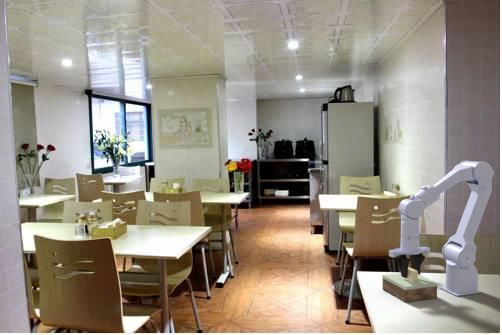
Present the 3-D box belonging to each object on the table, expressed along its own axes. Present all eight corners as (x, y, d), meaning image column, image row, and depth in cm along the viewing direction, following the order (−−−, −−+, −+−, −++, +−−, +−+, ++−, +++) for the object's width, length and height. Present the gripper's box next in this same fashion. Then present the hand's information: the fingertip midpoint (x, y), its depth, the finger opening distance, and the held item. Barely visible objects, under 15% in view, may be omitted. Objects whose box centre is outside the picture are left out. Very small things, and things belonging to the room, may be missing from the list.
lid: (412, 276, 143) (412, 261, 143) (437, 288, 131) (437, 272, 131) (382, 280, 139) (382, 265, 139) (405, 292, 128) (405, 276, 128)
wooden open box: (412, 285, 143) (412, 274, 143) (436, 298, 132) (437, 285, 131) (382, 289, 140) (382, 278, 139) (405, 302, 128) (405, 290, 128)
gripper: (398, 240, 129) (398, 282, 129) (436, 237, 133) (436, 278, 134) (385, 235, 135) (384, 275, 136) (422, 232, 139) (421, 271, 140)
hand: (409, 276), depth 135 cm, fingers open, 3 cm apart
